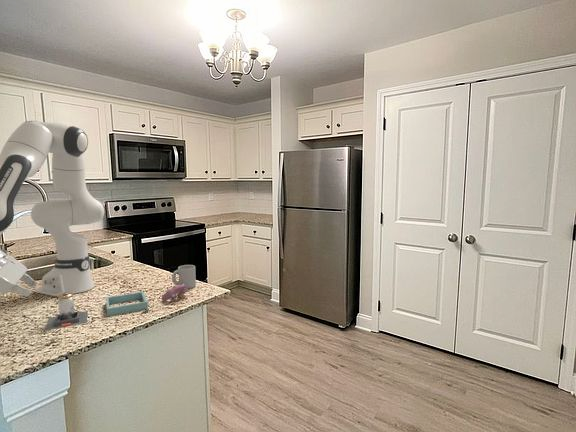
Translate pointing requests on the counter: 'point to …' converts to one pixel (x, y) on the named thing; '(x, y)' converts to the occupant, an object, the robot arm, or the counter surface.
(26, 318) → the counter surface
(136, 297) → the bin
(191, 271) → the cup
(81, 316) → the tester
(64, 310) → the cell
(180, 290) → the video game controller
